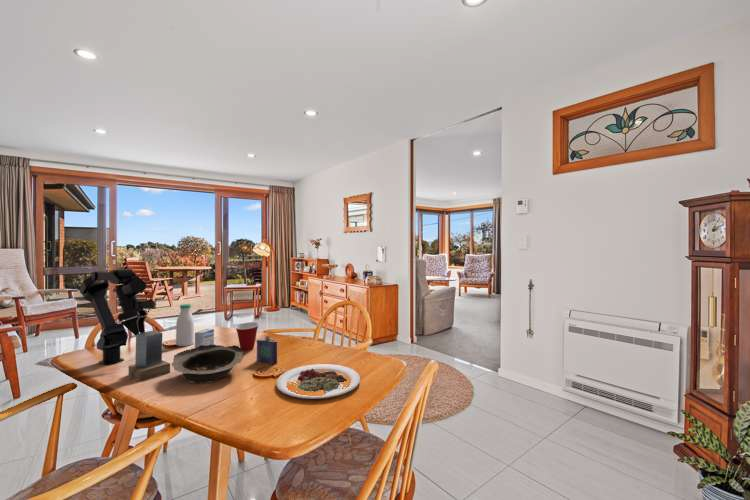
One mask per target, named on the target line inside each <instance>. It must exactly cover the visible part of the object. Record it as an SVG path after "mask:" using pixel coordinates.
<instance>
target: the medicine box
mask: <svg viewBox="0 0 750 500" xmlns="http://www.w3.org/2000/svg"><path fill="white" fill-rule="evenodd" d="M201 345H203V346H205V345H215V329H214V328H204V329H202V330H199V331H196V332H194V348H197V347H199V346H201Z"/></svg>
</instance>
